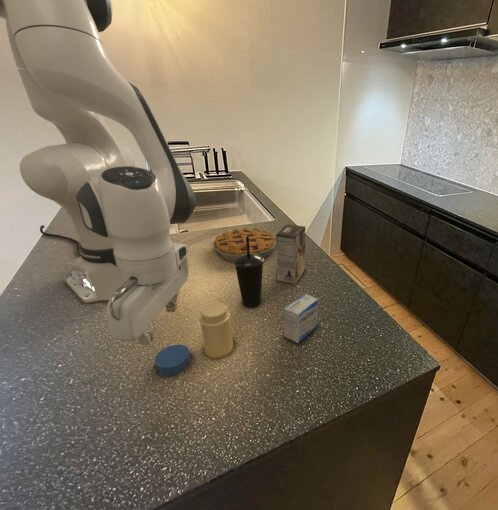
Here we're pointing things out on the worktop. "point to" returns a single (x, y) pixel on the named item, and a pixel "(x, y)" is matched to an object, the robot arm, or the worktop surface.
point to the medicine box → (300, 318)
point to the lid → (172, 359)
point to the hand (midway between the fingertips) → (160, 324)
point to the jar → (216, 329)
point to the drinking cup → (249, 276)
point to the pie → (244, 243)
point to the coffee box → (290, 253)
